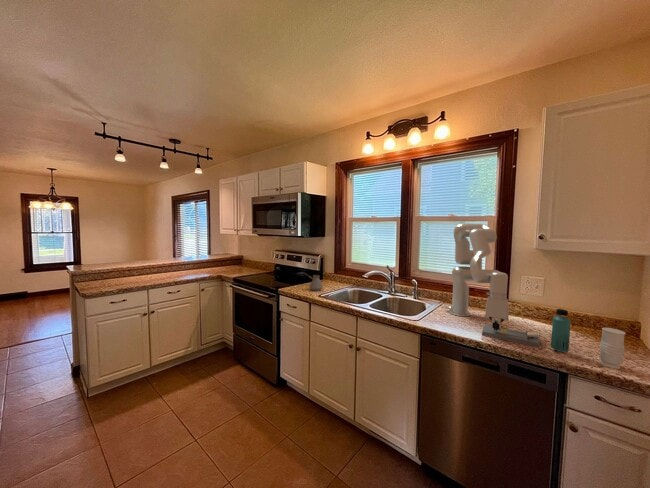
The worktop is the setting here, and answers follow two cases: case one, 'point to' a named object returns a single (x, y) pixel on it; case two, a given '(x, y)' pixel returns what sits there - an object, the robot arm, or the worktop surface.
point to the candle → (612, 348)
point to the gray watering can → (315, 283)
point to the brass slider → (503, 329)
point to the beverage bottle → (561, 331)
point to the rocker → (532, 334)
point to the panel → (511, 336)
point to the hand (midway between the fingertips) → (495, 329)
